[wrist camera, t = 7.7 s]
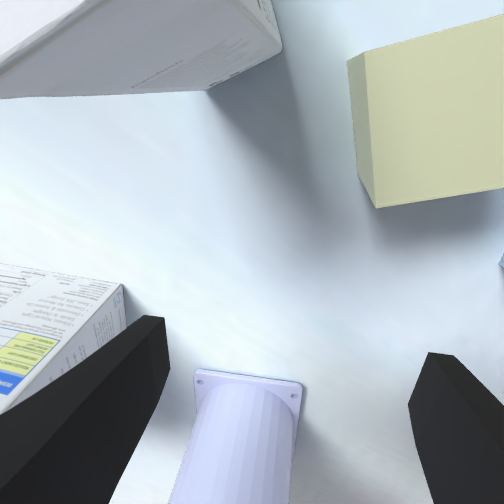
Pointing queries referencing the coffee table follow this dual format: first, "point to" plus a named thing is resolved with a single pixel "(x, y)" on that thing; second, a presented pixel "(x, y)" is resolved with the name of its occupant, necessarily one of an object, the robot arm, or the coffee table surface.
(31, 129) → the coffee table surface
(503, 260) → the base slab
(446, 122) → the olive cube
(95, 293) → the light bulb box
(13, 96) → the skincare box
